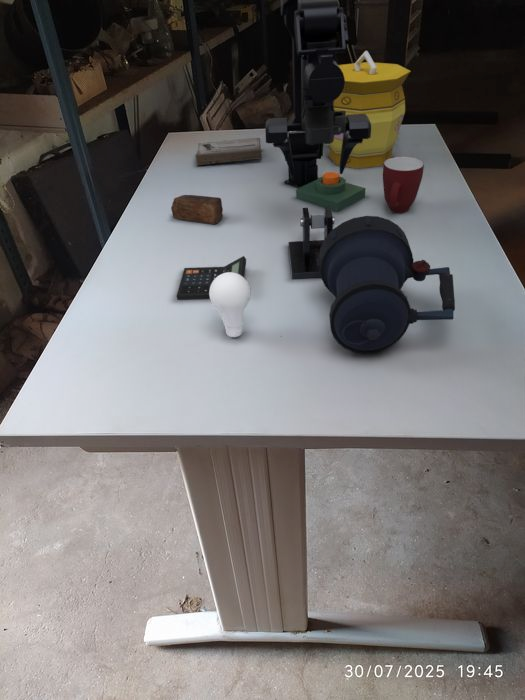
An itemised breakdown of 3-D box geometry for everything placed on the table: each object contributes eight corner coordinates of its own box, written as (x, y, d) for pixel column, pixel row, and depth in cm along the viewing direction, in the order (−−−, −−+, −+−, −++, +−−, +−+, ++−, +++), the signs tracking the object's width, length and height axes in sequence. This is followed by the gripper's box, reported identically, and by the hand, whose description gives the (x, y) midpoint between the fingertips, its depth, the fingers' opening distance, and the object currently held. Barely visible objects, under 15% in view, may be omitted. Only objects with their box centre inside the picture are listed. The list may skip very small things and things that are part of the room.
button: (319, 183, 121) (319, 175, 120) (329, 178, 123) (329, 170, 122) (332, 187, 119) (332, 179, 118) (342, 181, 121) (342, 174, 120)
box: (262, 160, 142) (261, 148, 140) (196, 166, 142) (195, 154, 141) (261, 148, 150) (260, 136, 149) (199, 153, 151) (198, 142, 149)
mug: (414, 224, 111) (420, 176, 104) (374, 220, 113) (378, 174, 107) (419, 203, 118) (425, 157, 112) (382, 200, 120) (386, 155, 114)
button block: (296, 198, 124) (295, 181, 121) (323, 184, 129) (324, 168, 127) (337, 212, 117) (338, 194, 114) (365, 197, 122) (366, 180, 120)
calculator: (185, 271, 101) (182, 257, 99) (247, 270, 100) (246, 255, 98) (177, 299, 93) (174, 285, 91) (244, 298, 93) (243, 283, 91)
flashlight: (316, 288, 93) (433, 283, 92) (323, 375, 78) (464, 371, 77) (316, 212, 83) (448, 205, 82) (325, 295, 68) (487, 288, 67)
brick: (223, 217, 118) (221, 196, 115) (216, 225, 115) (213, 204, 112) (181, 212, 121) (177, 192, 118) (172, 219, 118) (169, 199, 115)
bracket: (288, 247, 106) (287, 199, 100) (339, 244, 106) (341, 196, 99) (292, 279, 97) (290, 229, 90) (347, 276, 96) (350, 225, 90)
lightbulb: (214, 326, 87) (206, 266, 80) (252, 322, 87) (248, 262, 80) (215, 349, 82) (207, 288, 75) (255, 346, 82) (250, 284, 75)
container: (356, 179, 131) (362, 64, 115) (304, 156, 145) (303, 51, 129) (418, 158, 139) (432, 49, 123) (363, 138, 153) (369, 38, 138)
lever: (300, 228, 106) (299, 216, 105) (325, 227, 106) (325, 214, 105) (304, 229, 95) (303, 215, 94) (332, 227, 95) (332, 213, 94)
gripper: (263, 102, 87) (267, 194, 97) (379, 96, 86) (371, 189, 96) (264, 84, 96) (268, 170, 106) (369, 79, 95) (363, 166, 105)
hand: (316, 174), depth 103 cm, fingers open, 9 cm apart
